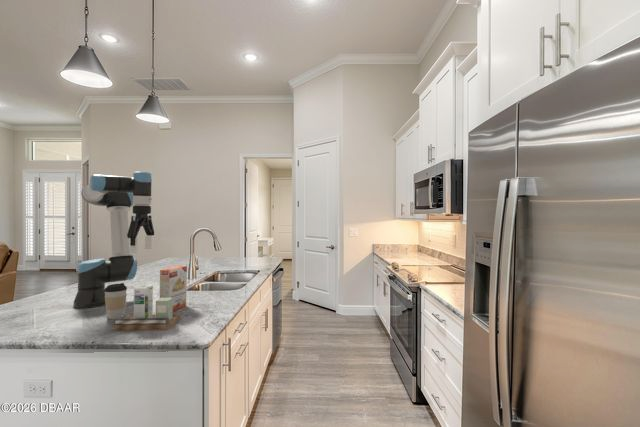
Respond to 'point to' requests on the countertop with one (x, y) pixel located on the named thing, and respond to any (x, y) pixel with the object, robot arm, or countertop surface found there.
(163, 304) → the pale green box
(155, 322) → the shelf board
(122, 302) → the coffee cup
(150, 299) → the syrup box
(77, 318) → the countertop surface
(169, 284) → the cracker box
